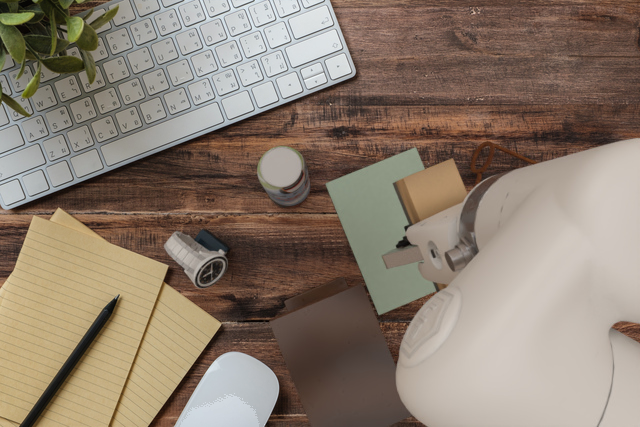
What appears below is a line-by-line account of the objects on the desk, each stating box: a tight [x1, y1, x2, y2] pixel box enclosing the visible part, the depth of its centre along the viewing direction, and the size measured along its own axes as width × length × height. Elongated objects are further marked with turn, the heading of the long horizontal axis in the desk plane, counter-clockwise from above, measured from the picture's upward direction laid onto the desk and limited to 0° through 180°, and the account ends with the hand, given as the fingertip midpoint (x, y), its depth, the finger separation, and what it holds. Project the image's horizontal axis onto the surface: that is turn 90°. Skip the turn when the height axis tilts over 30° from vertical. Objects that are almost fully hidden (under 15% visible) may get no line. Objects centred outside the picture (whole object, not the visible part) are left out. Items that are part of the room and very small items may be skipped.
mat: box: [324, 146, 437, 316], centre depth 68 cm, size 20×14×1 cm
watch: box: [163, 228, 232, 290], centre depth 61 cm, size 6×8×11 cm
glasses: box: [470, 140, 540, 188], centre depth 66 cm, size 13×13×5 cm
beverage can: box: [256, 145, 312, 210], centre depth 62 cm, size 6×7×12 cm
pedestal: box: [268, 275, 414, 427], centre depth 57 cm, size 14×10×20 cm
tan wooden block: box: [392, 157, 468, 293], centre depth 46 cm, size 12×5×5 cm, turn 22°
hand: (439, 229), depth 48 cm, fingers closed on tan wooden block, 5 cm apart
